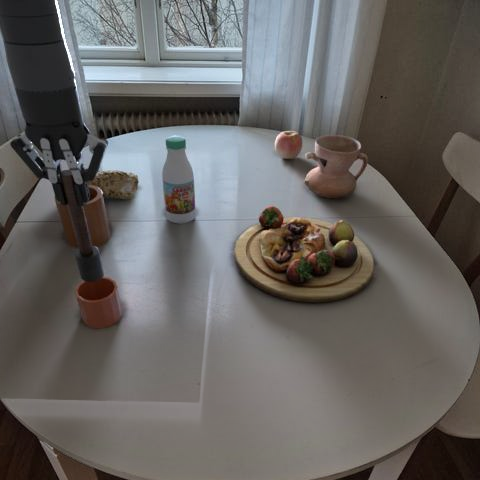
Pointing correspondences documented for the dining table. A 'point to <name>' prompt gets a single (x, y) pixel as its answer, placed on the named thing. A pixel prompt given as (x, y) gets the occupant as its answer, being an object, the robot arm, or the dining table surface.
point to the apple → (288, 144)
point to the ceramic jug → (334, 166)
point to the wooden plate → (303, 258)
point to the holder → (99, 302)
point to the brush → (81, 233)
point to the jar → (88, 219)
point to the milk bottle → (178, 182)
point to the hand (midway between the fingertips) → (74, 202)
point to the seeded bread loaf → (116, 184)
